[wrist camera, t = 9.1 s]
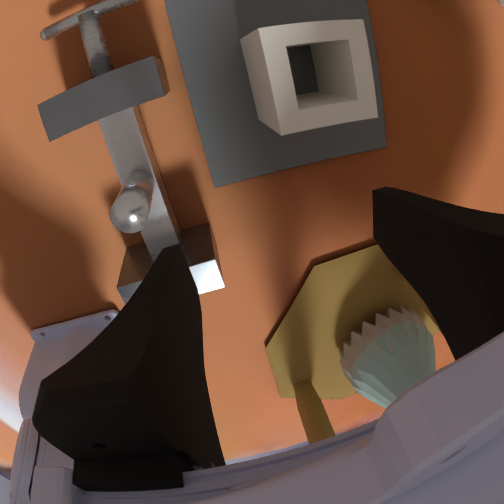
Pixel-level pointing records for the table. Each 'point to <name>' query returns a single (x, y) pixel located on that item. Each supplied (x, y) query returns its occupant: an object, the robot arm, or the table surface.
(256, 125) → the mat
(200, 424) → the robot arm
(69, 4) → the table surface
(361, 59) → the collar
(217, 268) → the vise
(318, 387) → the hourglass
